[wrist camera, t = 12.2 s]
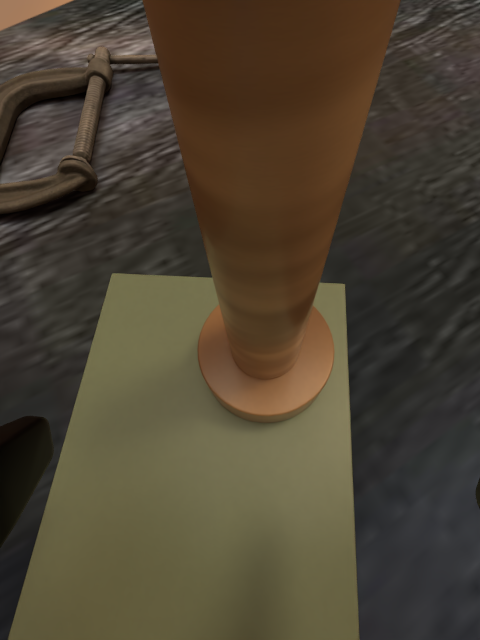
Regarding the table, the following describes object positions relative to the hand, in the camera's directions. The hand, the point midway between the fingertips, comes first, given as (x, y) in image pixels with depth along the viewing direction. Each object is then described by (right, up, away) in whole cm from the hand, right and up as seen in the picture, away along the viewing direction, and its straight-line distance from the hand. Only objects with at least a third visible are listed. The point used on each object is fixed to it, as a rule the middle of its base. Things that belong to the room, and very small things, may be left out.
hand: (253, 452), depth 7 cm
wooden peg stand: (+1, +1, +10) cm, 10 cm away
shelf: (-2, -6, +11) cm, 13 cm away
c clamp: (-15, +19, +24) cm, 34 cm away
